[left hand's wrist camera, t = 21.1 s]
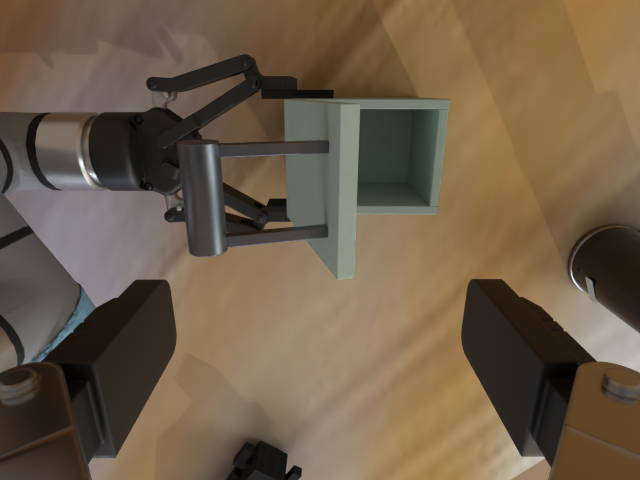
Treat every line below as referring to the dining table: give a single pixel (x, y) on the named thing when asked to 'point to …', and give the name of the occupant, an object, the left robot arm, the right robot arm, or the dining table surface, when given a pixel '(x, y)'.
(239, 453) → the toy
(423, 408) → the dining table surface
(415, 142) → the chest
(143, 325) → the left robot arm
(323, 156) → the lid
